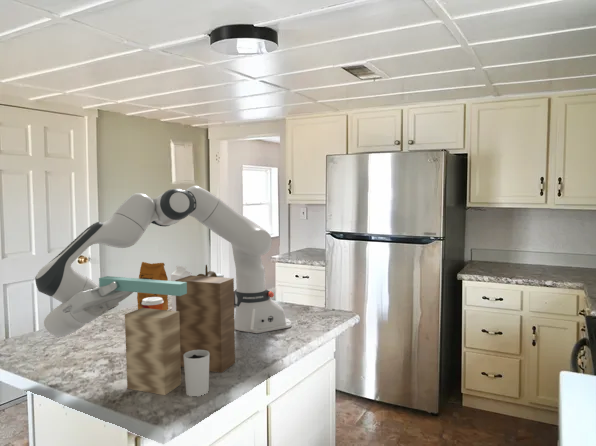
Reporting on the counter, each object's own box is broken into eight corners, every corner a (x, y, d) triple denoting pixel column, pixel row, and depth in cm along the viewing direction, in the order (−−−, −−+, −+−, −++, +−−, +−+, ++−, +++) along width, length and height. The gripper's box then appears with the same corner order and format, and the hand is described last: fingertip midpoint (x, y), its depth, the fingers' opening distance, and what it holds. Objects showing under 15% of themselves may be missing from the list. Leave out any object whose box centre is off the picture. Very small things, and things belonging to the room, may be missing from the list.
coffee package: (147, 308, 203) (146, 260, 202) (171, 310, 200) (170, 261, 198) (133, 314, 194) (131, 263, 193) (158, 316, 190) (156, 264, 189)
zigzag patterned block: (127, 388, 120) (124, 314, 119) (144, 378, 127) (142, 307, 125) (165, 395, 116) (162, 318, 115) (181, 384, 122) (179, 311, 121)
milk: (183, 316, 190) (182, 264, 188) (193, 319, 186) (192, 265, 185) (171, 320, 185) (170, 266, 183) (181, 322, 181) (180, 267, 180)
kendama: (195, 311, 198) (194, 265, 197) (207, 305, 207) (206, 262, 206) (207, 312, 196) (206, 266, 195) (218, 306, 205) (217, 263, 204)
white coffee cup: (179, 395, 116) (178, 356, 115) (193, 384, 122) (193, 348, 121) (201, 399, 114) (200, 360, 113) (215, 388, 120) (214, 351, 119)
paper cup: (158, 341, 158) (156, 301, 157) (138, 340, 160) (136, 301, 159) (168, 334, 166) (167, 296, 165) (149, 333, 167) (148, 296, 166)
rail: (99, 288, 124) (99, 278, 123) (107, 286, 126) (107, 276, 126) (180, 296, 115) (179, 284, 114) (186, 293, 117) (186, 282, 117)
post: (177, 366, 135) (175, 280, 133) (192, 357, 143) (190, 275, 141) (221, 372, 130) (220, 283, 128) (235, 362, 138) (233, 278, 136)
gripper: (53, 302, 118) (88, 279, 113) (110, 287, 137) (142, 266, 132) (63, 324, 117) (98, 301, 112) (119, 305, 136) (152, 285, 132)
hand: (123, 282), depth 123 cm, fingers closed on rail, 3 cm apart
